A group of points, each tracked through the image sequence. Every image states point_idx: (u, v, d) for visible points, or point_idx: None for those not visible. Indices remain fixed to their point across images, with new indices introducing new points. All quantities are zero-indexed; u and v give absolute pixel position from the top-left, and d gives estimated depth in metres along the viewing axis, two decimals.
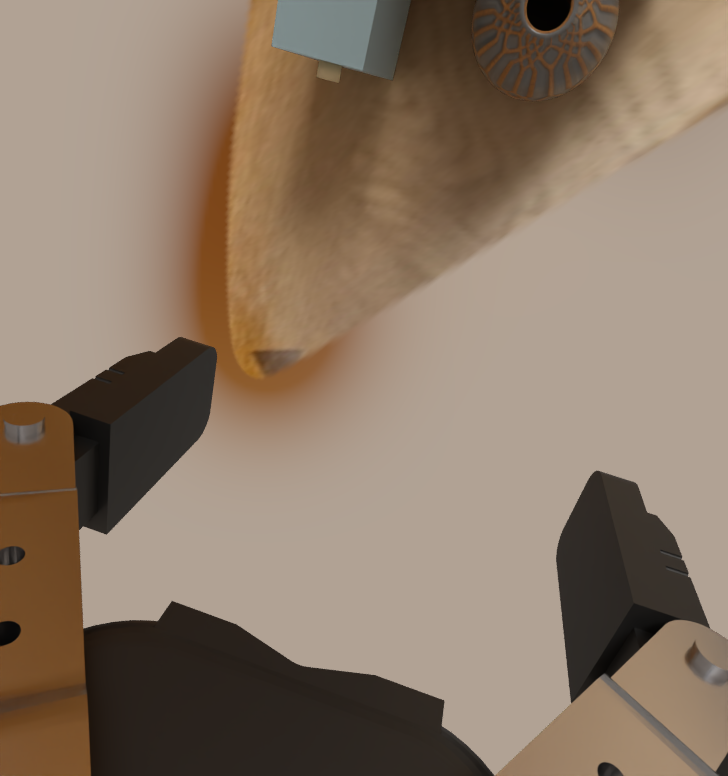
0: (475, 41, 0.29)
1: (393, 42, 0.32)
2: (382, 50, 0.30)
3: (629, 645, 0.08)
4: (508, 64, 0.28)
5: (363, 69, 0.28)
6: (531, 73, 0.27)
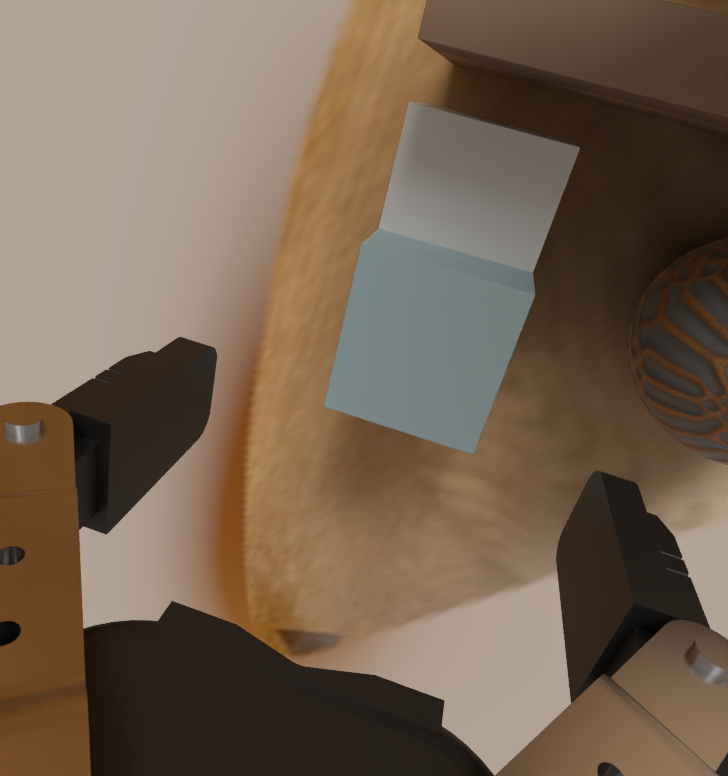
0: (646, 384, 0.18)
1: None
2: None
3: (629, 645, 0.08)
4: (713, 448, 0.17)
5: None
6: None
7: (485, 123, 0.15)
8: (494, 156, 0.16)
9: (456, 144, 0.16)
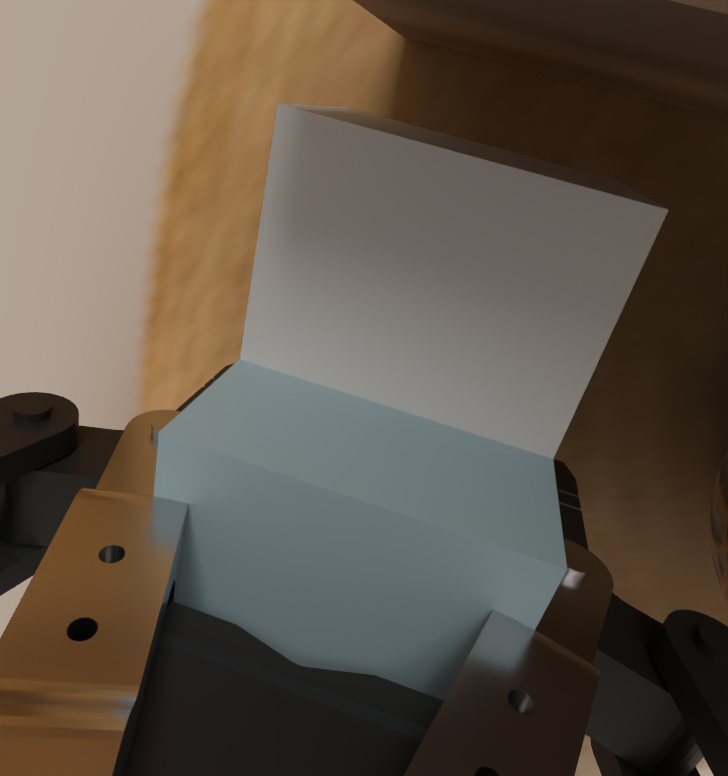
0: None
1: None
2: None
3: None
4: None
5: None
6: None
7: (448, 152, 0.07)
8: (469, 224, 0.07)
9: (386, 197, 0.07)
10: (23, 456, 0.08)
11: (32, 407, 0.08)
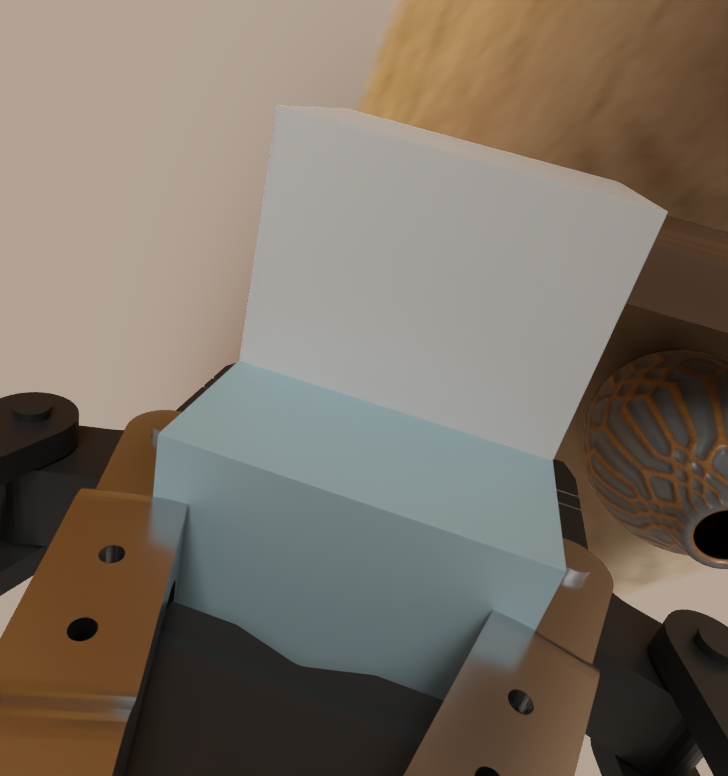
0: (594, 478, 0.21)
1: None
2: None
3: None
4: (647, 537, 0.20)
5: None
6: (679, 552, 0.20)
7: (447, 154, 0.07)
8: (469, 227, 0.07)
9: (385, 199, 0.07)
10: (23, 456, 0.08)
11: (32, 407, 0.08)
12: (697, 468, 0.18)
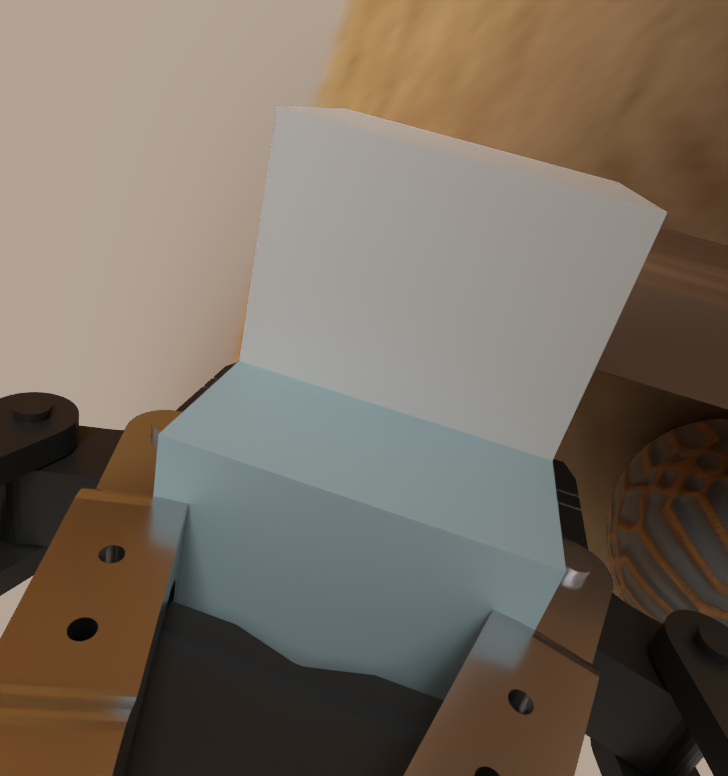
0: (625, 594, 0.16)
1: None
2: None
3: None
4: None
5: None
6: None
7: (447, 155, 0.07)
8: (469, 227, 0.07)
9: (385, 200, 0.07)
10: (23, 456, 0.08)
11: (32, 407, 0.08)
12: None
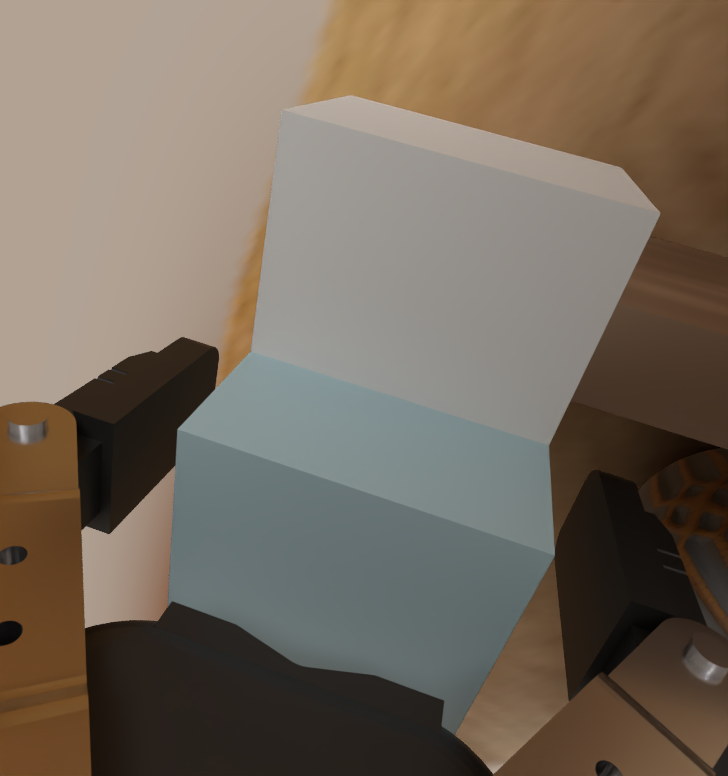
0: None
1: None
2: None
3: (626, 643, 0.08)
4: None
5: None
6: None
7: (447, 157, 0.07)
8: (467, 227, 0.07)
9: (387, 200, 0.07)
10: None
11: None
12: None
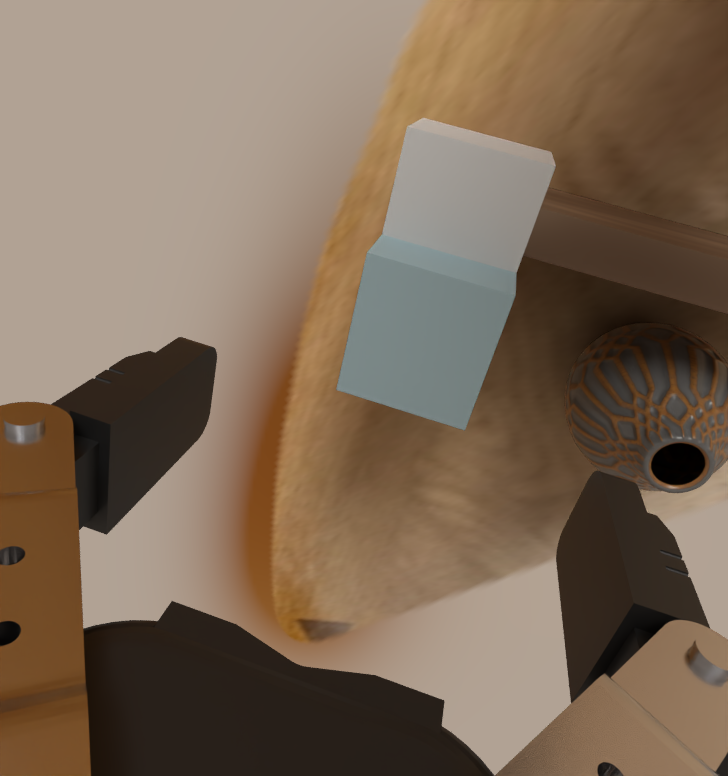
0: (574, 429, 0.26)
1: None
2: None
3: (629, 645, 0.08)
4: (617, 475, 0.24)
5: (465, 426, 0.20)
6: (643, 487, 0.24)
7: (473, 145, 0.18)
8: (481, 173, 0.18)
9: (448, 163, 0.18)
10: None
11: None
12: (654, 411, 0.22)
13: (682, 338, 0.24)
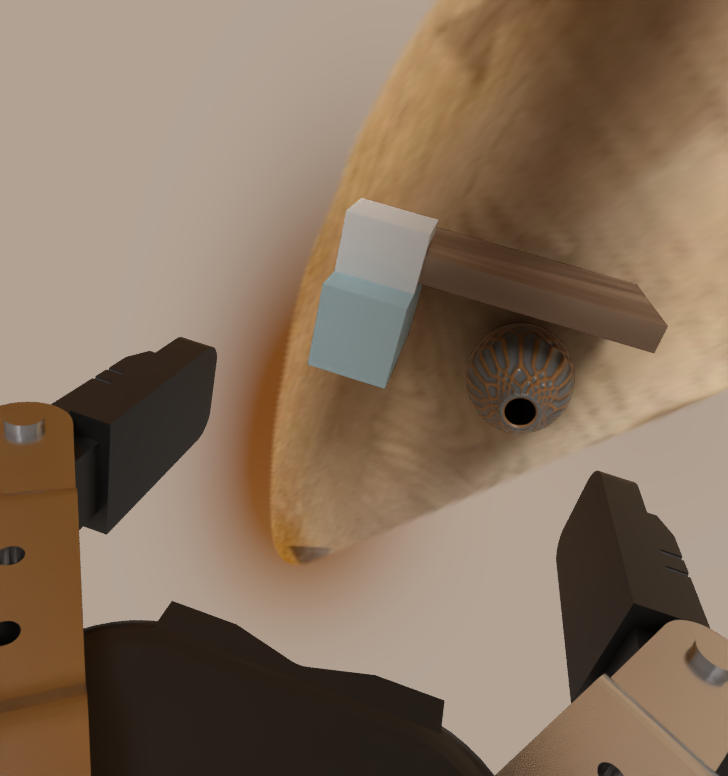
0: (468, 394, 0.39)
1: (410, 322, 0.37)
2: (400, 345, 0.35)
3: (629, 645, 0.08)
4: (493, 422, 0.37)
5: (385, 386, 0.33)
6: (509, 430, 0.37)
7: (384, 221, 0.31)
8: (389, 237, 0.31)
9: (371, 231, 0.31)
10: None
11: None
12: (508, 379, 0.35)
13: (533, 333, 0.37)
